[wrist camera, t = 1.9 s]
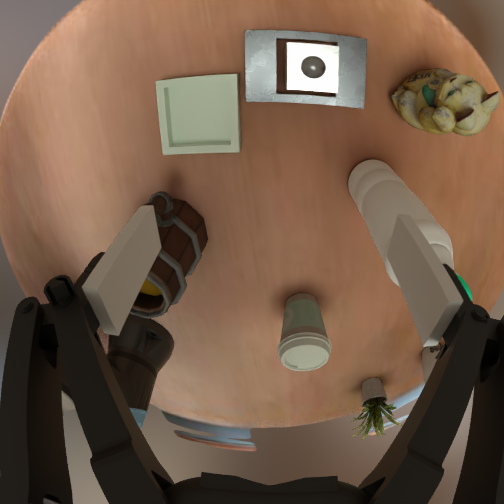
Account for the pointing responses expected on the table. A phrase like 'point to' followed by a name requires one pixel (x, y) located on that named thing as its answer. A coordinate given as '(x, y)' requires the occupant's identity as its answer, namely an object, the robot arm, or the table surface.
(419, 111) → the decorative figurine
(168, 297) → the mug
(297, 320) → the coffee cup
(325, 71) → the block
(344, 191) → the table surface
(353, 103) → the grey rectangular frame
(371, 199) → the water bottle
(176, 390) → the table surface
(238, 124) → the parts tray
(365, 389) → the house plant
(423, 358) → the cup
